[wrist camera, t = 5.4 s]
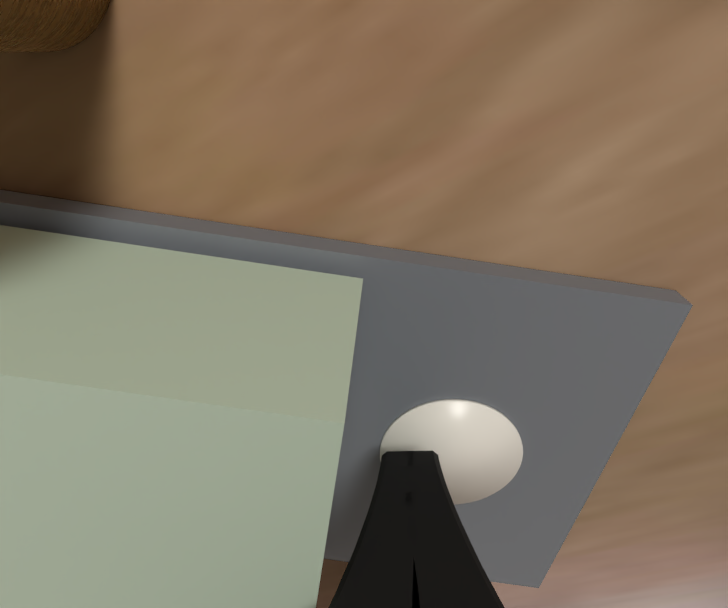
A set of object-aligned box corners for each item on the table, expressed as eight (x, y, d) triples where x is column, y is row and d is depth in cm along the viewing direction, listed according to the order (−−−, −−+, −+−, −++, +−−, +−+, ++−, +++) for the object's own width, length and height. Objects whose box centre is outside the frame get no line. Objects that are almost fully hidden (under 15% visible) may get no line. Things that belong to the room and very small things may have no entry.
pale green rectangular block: (362, 278, 8) (344, 423, 5) (320, 562, 12) (294, 743, 9) (-306, 179, 8) (-766, 265, 5) (-130, 500, 12) (-319, 664, 9)
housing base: (675, 290, 9) (801, 397, 6) (533, 567, 13) (569, 703, 11) (-288, 146, 9) (-605, 192, 6) (-118, 477, 13) (-256, 594, 10)
